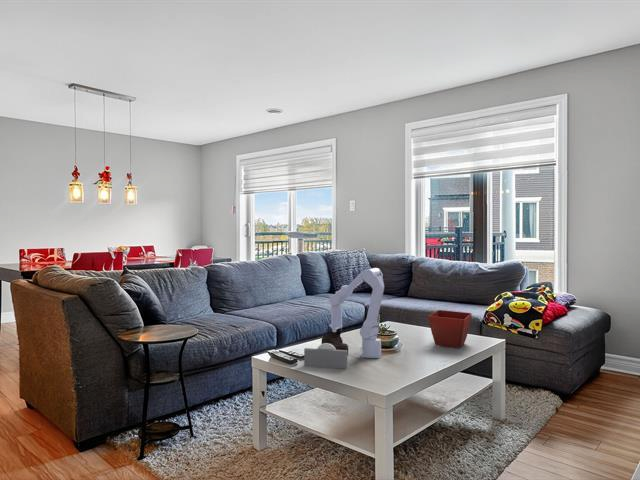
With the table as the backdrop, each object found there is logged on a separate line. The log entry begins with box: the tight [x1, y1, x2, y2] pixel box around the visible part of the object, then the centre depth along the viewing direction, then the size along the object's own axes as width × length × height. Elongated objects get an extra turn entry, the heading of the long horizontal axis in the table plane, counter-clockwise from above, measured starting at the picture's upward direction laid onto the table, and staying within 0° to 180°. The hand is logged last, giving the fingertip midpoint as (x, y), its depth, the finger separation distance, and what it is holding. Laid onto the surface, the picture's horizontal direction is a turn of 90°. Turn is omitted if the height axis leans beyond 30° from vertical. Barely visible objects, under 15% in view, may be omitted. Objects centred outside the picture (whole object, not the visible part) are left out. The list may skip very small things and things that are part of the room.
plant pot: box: [428, 309, 473, 349], centre depth 254 cm, size 19×19×17 cm
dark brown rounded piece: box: [320, 332, 349, 357], centre depth 236 cm, size 10×15×15 cm
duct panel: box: [303, 343, 348, 370], centre depth 216 cm, size 20×3×10 cm, turn 78°
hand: (336, 342), depth 244 cm, fingers closed
